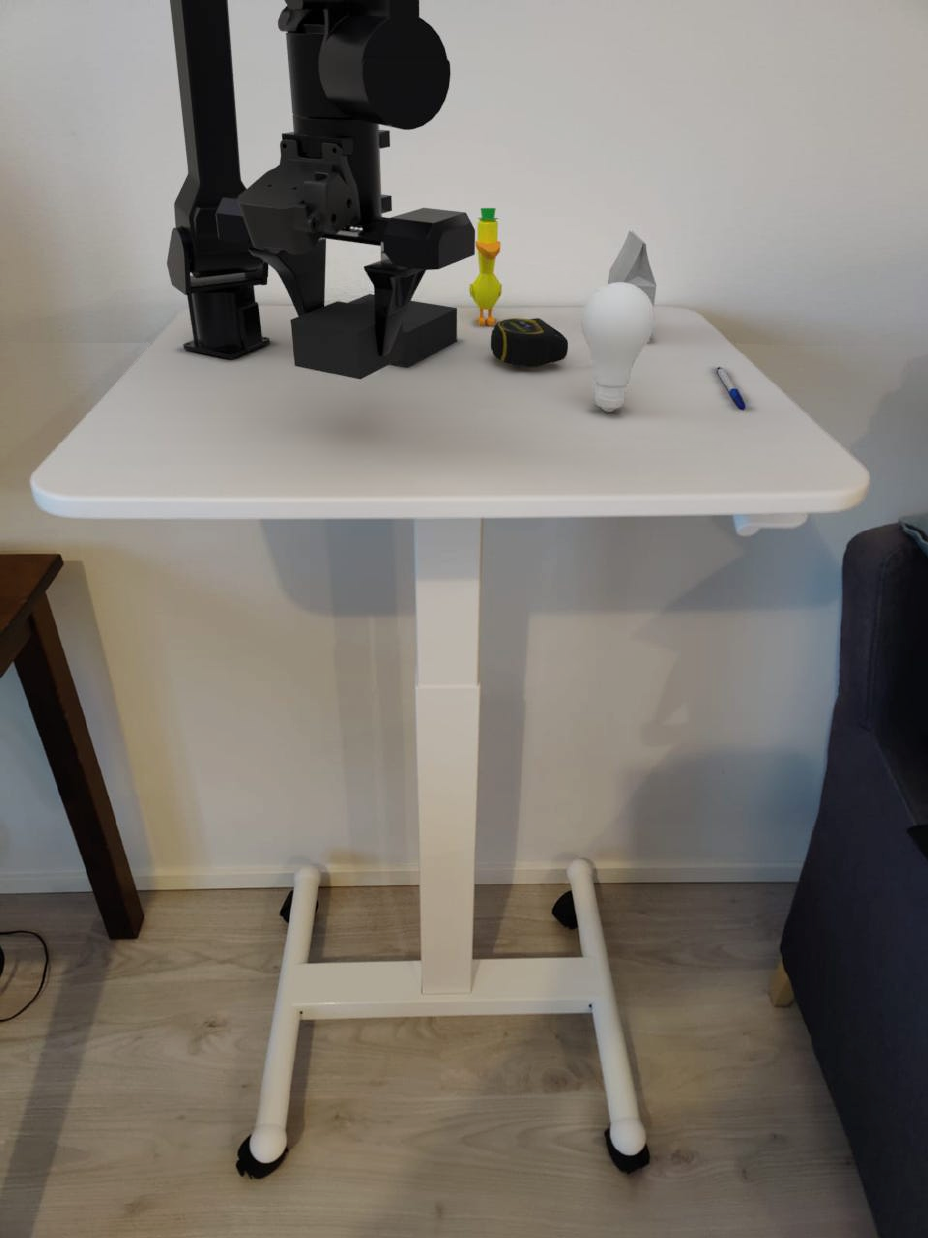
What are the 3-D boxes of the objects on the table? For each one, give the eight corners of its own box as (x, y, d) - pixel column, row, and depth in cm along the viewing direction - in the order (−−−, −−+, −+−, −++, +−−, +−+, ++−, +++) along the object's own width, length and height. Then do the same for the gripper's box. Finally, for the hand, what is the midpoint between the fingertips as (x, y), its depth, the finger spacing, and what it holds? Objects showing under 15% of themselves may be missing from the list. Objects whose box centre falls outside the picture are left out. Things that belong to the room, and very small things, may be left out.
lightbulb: (648, 404, 84) (664, 278, 77) (636, 427, 79) (652, 295, 73) (582, 395, 85) (593, 271, 79) (566, 418, 80) (576, 288, 74)
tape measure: (569, 370, 91) (572, 332, 89) (503, 376, 89) (505, 337, 87) (543, 349, 96) (545, 313, 94) (481, 355, 95) (482, 318, 92)
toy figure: (505, 331, 101) (509, 214, 95) (473, 332, 101) (475, 214, 94) (497, 315, 107) (501, 203, 100) (467, 315, 107) (468, 203, 100)
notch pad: (317, 349, 95) (314, 315, 93) (370, 325, 103) (369, 293, 101) (408, 367, 91) (407, 331, 89) (456, 341, 98) (457, 307, 96)
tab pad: (294, 366, 70) (290, 319, 68) (354, 338, 75) (351, 295, 73) (360, 379, 67) (358, 331, 65) (417, 350, 73) (416, 305, 71)
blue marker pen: (748, 411, 83) (749, 400, 82) (738, 411, 83) (740, 400, 82) (721, 372, 92) (722, 362, 91) (712, 372, 92) (713, 362, 91)
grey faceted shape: (615, 342, 99) (625, 243, 93) (603, 324, 104) (613, 230, 99) (649, 342, 99) (661, 243, 93) (636, 324, 105) (647, 230, 99)
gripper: (143, 115, 59) (181, 357, 68) (389, 135, 52) (396, 403, 60) (255, 103, 67) (276, 320, 76) (481, 119, 60) (476, 357, 69)
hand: (348, 348), depth 70 cm, fingers closed on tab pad, 6 cm apart
